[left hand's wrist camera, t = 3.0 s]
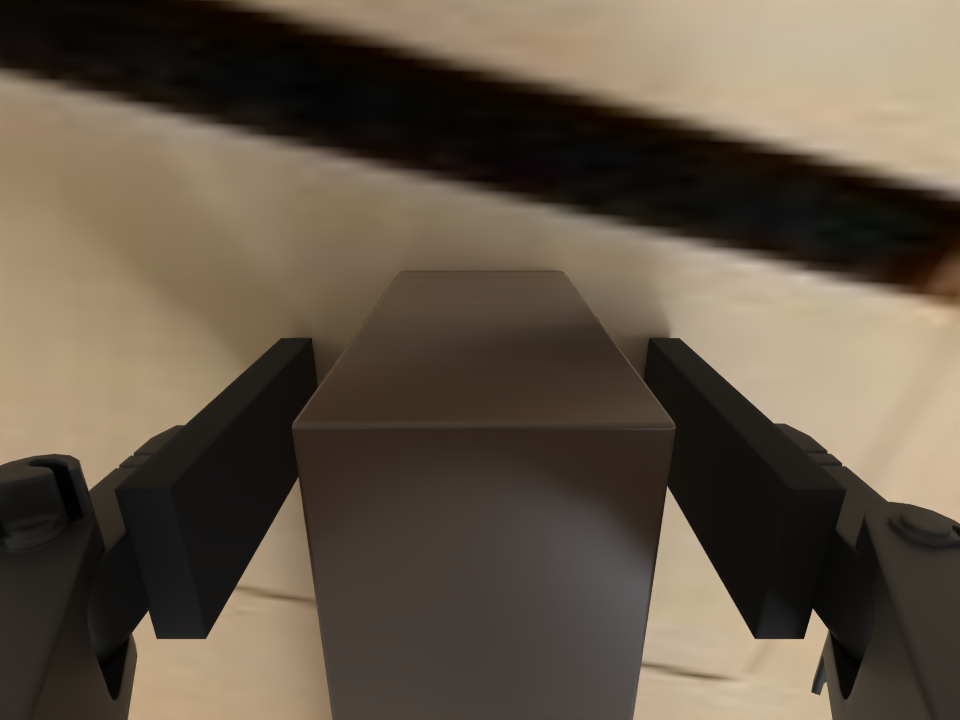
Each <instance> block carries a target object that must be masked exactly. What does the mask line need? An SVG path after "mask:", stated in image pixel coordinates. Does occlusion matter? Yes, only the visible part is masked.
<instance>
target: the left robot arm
mask: <svg viewBox="0 0 960 720" xmlns="http://www.w3.org/2000/svg"><path fill="white" fill-rule="evenodd" d="M644 382H645V384H646V385H647V386H648V388H649V389H650V390H651V392H652V393H653V394H654V396H655V397H656V399H657V400H658V401H659V403H660V404H661V405H662V407H663V408H664V409H665V411H666V412H667V413H668V415H669V416H670V418H671V419H672V420H673V422H674V423H675V426H676V428H675V435H674V442H673V449H672V456H671V463H670V469H669V476H668V483H667V486H668V487H669V489H670V491H671V493H672V494H673V496H674V498H675V500H676V501H677V503H678V505H679V507H680V508H681V510H682V512H683V514H684V515H685V517H686V519H687V521H688V522H689V524H690V526H691V528H692V529H693V531H694V533H695V535H696V536H697V538H698V540H699V542H700V543H701V545H702V547H703V549H704V550H705V552H706V554H707V556H708V557H709V559H710V561H711V563H712V564H713V566H714V568H715V570H716V571H717V573H718V575H719V577H720V578H721V580H722V582H723V584H724V585H725V587H726V589H727V591H728V592H729V594H730V596H731V598H732V600H733V601H734V603H735V605H736V607H737V608H738V610H739V612H740V614H741V615H742V617H743V619H744V621H745V622H746V624H747V626H748V628H749V629H750V631H751V633H752V635H753V636H754V638H755V639H804V637H805V633H806V630H807V626H808V623H809V620H810V616H811V613H812V609H814V610H815V612H816V613H817V614H818V616H819V617H820V618H821V620H822V621H823V623H824V624H825V625H826V627H827V628H828V629H829V631H828V634H827V638H826V641H825V644H824V648H823V651H822V654H821V657H820V661H819V664H818V667H817V670H816V674H815V677H814V680H813V686H812V693H815V694H818V695H820V693H821V690H822V687H823V684H824V683H825V682H827V686H828V692H829V699H830V705H831V712H832V718H833V720H960V524H959V523H958V522H956V521H954V520H952V519H950V518H948V517H945V516H943V515H941V514H939V513H936V512H934V511H932V510H928V509H925V508H921V507H918V506H914V505H911V504H904V503H896V502H887V501H886V500H885V499H884V498H883V497H882V496H880V495H879V494H878V493H877V492H876V491H874V490H873V489H872V488H871V487H870V486H868V485H867V484H866V483H865V482H864V481H863V480H861V479H860V478H859V477H858V476H857V475H855V474H854V473H853V472H852V471H851V470H849V469H848V468H847V467H846V466H842V463H841V462H840V461H839V460H838V459H836V458H835V457H834V456H833V455H832V454H828V453H827V450H826V449H825V448H823V447H822V446H821V445H820V444H819V443H817V442H816V441H815V440H814V439H813V438H811V437H810V436H809V435H807V434H805V433H803V432H801V431H799V430H797V429H795V428H793V427H791V426H788V425H786V424H774V423H773V422H772V421H770V420H769V419H768V418H767V417H766V416H765V415H764V414H763V413H762V412H760V411H759V410H758V409H757V408H756V407H755V406H754V405H753V404H752V403H751V402H749V401H748V400H747V399H746V398H745V397H744V396H743V395H742V394H741V393H739V392H738V391H737V390H736V389H735V388H734V387H733V386H732V385H731V384H730V383H728V382H727V381H726V380H725V379H724V378H723V377H722V376H721V375H720V374H718V373H717V372H716V371H715V370H714V369H713V368H712V367H711V366H710V365H708V364H707V363H706V362H705V361H704V360H703V359H702V358H701V357H700V356H699V355H697V354H696V353H695V352H694V351H693V350H692V349H691V348H690V347H689V346H687V345H686V344H685V343H684V342H683V341H682V340H681V339H680V338H649V345H648V354H647V362H646V370H645V379H644ZM316 390H317V381H316V372H315V364H314V355H313V347H312V339H311V338H281V339H280V340H279V341H278V342H277V343H276V344H274V345H273V346H272V347H271V348H270V349H269V350H268V351H267V352H266V353H264V354H263V355H262V356H261V357H260V358H259V359H258V360H257V361H256V362H255V363H253V364H252V365H251V366H250V367H249V368H248V369H247V370H246V371H245V372H243V373H242V374H241V375H240V376H239V377H238V378H237V379H236V380H235V381H234V382H232V383H231V384H230V385H229V386H228V387H227V388H226V389H225V390H224V391H222V392H221V393H220V394H219V395H218V396H217V397H216V398H215V399H214V400H212V401H211V402H210V403H209V404H208V405H207V406H206V407H205V408H204V409H203V410H201V411H200V412H199V413H198V414H197V415H196V416H195V417H194V418H193V419H191V420H190V421H189V422H188V423H187V424H186V425H176V426H174V427H172V428H170V429H168V430H166V431H164V432H162V433H160V434H158V435H156V436H154V437H152V438H151V439H150V440H148V441H147V442H146V443H145V444H144V445H143V446H141V447H140V448H139V449H138V450H137V451H136V452H134V456H130V457H128V458H127V459H126V460H125V461H124V462H123V463H121V464H120V465H119V466H120V467H119V468H116V469H114V470H113V471H112V472H111V473H110V474H108V475H107V476H106V477H105V478H104V479H103V480H101V481H100V482H99V483H98V484H97V485H96V486H94V487H93V488H92V489H91V490H90V491H88V488H87V485H86V481H85V478H84V475H83V472H82V468H81V465H80V462H79V460H77V459H76V458H74V457H72V456H70V455H60V454H50V455H41V456H33V457H28V458H24V459H20V460H16V461H12V462H9V463H6V464H3V465H1V466H0V720H128V714H129V707H130V701H131V694H132V687H133V681H134V674H135V668H136V661H137V650H136V644H135V641H134V638H133V634H132V632H133V631H134V629H135V628H136V627H137V625H138V624H139V622H140V621H141V620H142V618H143V617H144V616H145V614H146V613H147V612H148V610H149V613H150V617H151V620H152V624H153V627H154V631H155V634H156V638H157V639H206V638H207V636H208V634H209V632H210V631H211V629H212V627H213V625H214V624H215V622H216V620H217V618H218V617H219V615H220V613H221V611H222V610H223V608H224V606H225V604H226V603H227V601H228V599H229V597H230V596H231V594H232V592H233V590H234V589H235V587H236V585H237V583H238V582H239V580H240V578H241V576H242V575H243V573H244V571H245V569H246V568H247V566H248V564H249V562H250V560H251V559H252V557H253V555H254V553H255V552H256V550H257V548H258V546H259V545H260V543H261V541H262V539H263V538H264V536H265V534H266V532H267V531H268V529H269V527H270V525H271V524H272V522H273V520H274V518H275V517H276V515H277V513H278V511H279V510H280V508H281V506H282V504H283V503H284V501H285V499H286V497H287V496H288V494H289V492H290V490H291V489H292V487H293V485H294V483H295V482H296V480H297V478H298V476H299V475H298V468H297V461H296V453H295V446H294V439H293V432H292V425H293V422H294V421H295V419H296V418H297V417H298V415H299V414H300V412H301V411H302V409H303V408H304V407H305V405H306V404H307V402H308V401H309V400H310V398H311V397H312V395H313V394H314V393H315V391H316Z"/></svg>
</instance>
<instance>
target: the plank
mask: <svg viewBox="0 0 960 720" xmlns="http://www.w3.org/2000/svg"><path fill="white" fill-rule="evenodd" d="M675 428H676V426H675V423H674V422H673V420H672V419H671V418H670V416H669V415H668V413H667V412H666V411H665V409H664V408H663V407H662V405H661V404H660V403H659V401H658V400H657V399H656V397H655V396H654V394H653V393H652V392H651V390H650V389H649V388H648V386H647V385H646V384H645V382H644V381H643V380H642V378H641V377H640V375H639V374H638V373H637V371H636V370H635V369H634V367H633V366H632V365H631V363H630V362H629V360H628V359H627V358H626V356H625V355H624V354H623V352H622V351H621V350H620V348H619V347H618V346H617V344H616V343H615V341H614V340H613V339H612V337H611V336H610V335H609V333H608V332H607V331H606V329H605V328H604V327H603V325H602V324H601V322H600V321H599V320H598V318H597V317H596V316H595V314H594V313H593V312H592V310H591V309H590V307H589V306H588V305H587V303H586V302H585V301H584V299H583V298H582V297H581V295H580V294H579V293H578V291H577V290H576V288H575V287H574V286H573V284H572V283H571V282H570V280H569V279H568V278H567V276H566V275H565V273H564V272H562V271H401V272H400V273H399V274H398V275H397V277H396V278H395V280H394V281H393V282H392V284H391V285H390V287H389V288H388V290H387V291H386V292H385V294H384V295H383V297H382V298H381V299H380V301H379V302H378V304H377V305H376V306H375V308H374V309H373V311H372V312H371V314H370V315H369V316H368V318H367V319H366V321H365V322H364V323H363V325H362V326H361V328H360V329H359V330H358V332H357V333H356V335H355V336H354V338H353V339H352V340H351V342H350V343H349V345H348V346H347V347H346V349H345V350H344V352H343V353H342V354H341V356H340V357H339V359H338V360H337V362H336V363H335V364H334V366H333V367H332V369H331V370H330V371H329V373H328V374H327V376H326V377H325V378H324V380H323V381H322V383H321V384H320V386H319V387H318V388H317V390H316V391H315V393H314V394H313V395H312V397H311V398H310V400H309V401H308V402H307V404H306V405H305V407H304V408H303V409H302V411H301V412H300V414H299V415H298V417H297V418H296V419H295V421H294V422H293V425H292V432H293V439H294V446H295V453H296V461H297V468H298V475H299V482H300V489H301V496H302V503H303V510H304V518H305V525H306V532H307V539H308V546H309V553H310V560H311V568H312V575H313V582H314V589H315V596H316V603H317V610H318V617H319V625H320V632H321V639H322V646H323V653H324V660H325V667H326V674H327V682H328V689H329V696H330V703H331V710H332V717H333V720H633V715H634V708H635V701H636V695H637V688H638V681H639V674H640V667H641V661H642V654H643V647H644V640H645V633H646V626H647V620H648V613H649V606H650V599H651V592H652V585H653V579H654V572H655V565H656V558H657V551H658V544H659V538H660V531H661V524H662V517H663V510H664V504H665V497H666V490H667V483H668V476H669V469H670V463H671V456H672V449H673V442H674V435H675Z"/></svg>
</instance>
